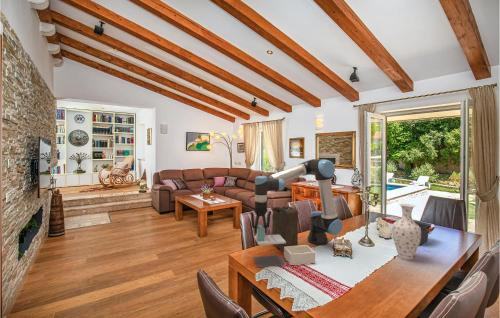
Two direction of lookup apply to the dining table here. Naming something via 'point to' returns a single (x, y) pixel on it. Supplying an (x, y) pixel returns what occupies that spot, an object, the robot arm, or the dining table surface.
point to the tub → (299, 254)
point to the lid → (268, 238)
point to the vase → (406, 234)
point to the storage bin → (424, 231)
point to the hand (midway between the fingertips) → (260, 238)
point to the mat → (269, 261)
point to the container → (285, 226)
